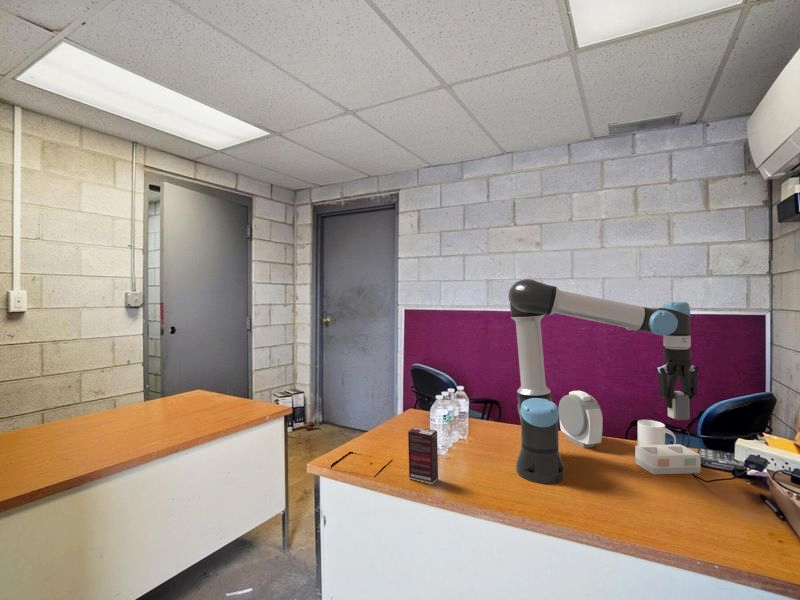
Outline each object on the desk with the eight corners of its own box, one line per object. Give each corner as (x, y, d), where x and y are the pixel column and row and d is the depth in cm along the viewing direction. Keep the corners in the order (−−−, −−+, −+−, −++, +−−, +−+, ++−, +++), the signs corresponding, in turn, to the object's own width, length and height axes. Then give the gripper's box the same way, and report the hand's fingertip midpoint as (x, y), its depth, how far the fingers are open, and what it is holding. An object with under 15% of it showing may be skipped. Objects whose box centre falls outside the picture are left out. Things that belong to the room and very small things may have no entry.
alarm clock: (605, 449, 148) (605, 396, 148) (586, 452, 146) (586, 398, 146) (573, 433, 166) (573, 385, 165) (556, 435, 164) (555, 387, 163)
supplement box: (438, 479, 127) (438, 430, 127) (432, 485, 123) (432, 435, 122) (414, 473, 131) (414, 426, 131) (408, 479, 127) (407, 430, 127)
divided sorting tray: (653, 474, 128) (653, 456, 127) (635, 462, 137) (635, 445, 137) (701, 473, 128) (701, 455, 128) (680, 461, 137) (679, 444, 137)
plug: (668, 416, 134) (668, 390, 134) (680, 415, 134) (679, 390, 134) (677, 420, 130) (677, 393, 130) (689, 419, 130) (688, 393, 130)
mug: (678, 459, 139) (678, 429, 139) (639, 454, 144) (639, 425, 143) (673, 450, 147) (673, 422, 146) (636, 446, 151) (636, 418, 151)
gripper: (660, 350, 127) (662, 421, 128) (710, 348, 128) (712, 419, 129) (645, 347, 135) (646, 414, 135) (692, 345, 136) (694, 412, 136)
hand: (678, 416), depth 132 cm, fingers closed on plug, 4 cm apart
